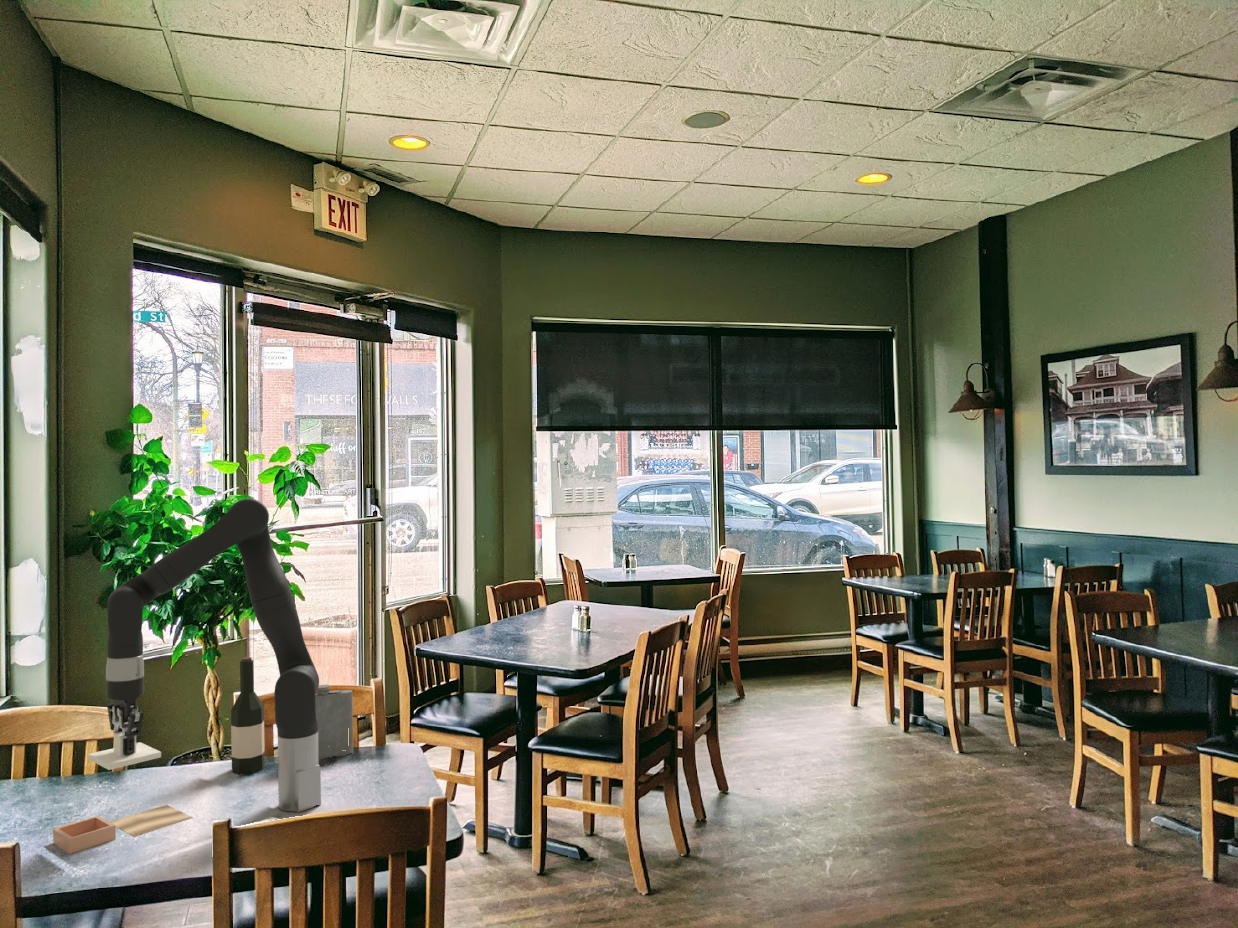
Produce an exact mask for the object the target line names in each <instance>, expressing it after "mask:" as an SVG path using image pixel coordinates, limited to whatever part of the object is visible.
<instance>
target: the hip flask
mask: <svg viewBox="0 0 1238 928" xmlns="http://www.w3.org/2000/svg"><path fill="white" fill-rule="evenodd" d="M330 688H331V686H330V684H319V686H318V689H317V691H316V693H315V703H316V718H317V720H318V758H319V761H320V760H323V759H324V758H325V759H328V758H327V757H330V756H336V757H339V756H338V755H342V756H348V755H347V754H349V755H351V754H350V753H352V754H353V753H354V715H353V713H354V711H353V709H354V708H353V706H354V705H353V703H354V702H353V690H351V689H345V690H339V689H338V690H330ZM348 728H349V746H348ZM328 746H329V747H328ZM342 750H346V751H342ZM330 758H331V757H330Z"/></svg>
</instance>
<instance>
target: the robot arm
mask: <svg viewBox="0 0 1238 928" xmlns="http://www.w3.org/2000/svg"><path fill="white" fill-rule="evenodd" d="M269 520H270V514H269V510H268V507H267V506H265V504H264V503H263V502H261V501H260V500H257V499H254V498H242V499H239V500H237V501H236V502H234V503H233V504H232V505H231V506H230V507H229V509H228V510H227V512H225V514H224V515H223V516H221V517H220V519H218V520H217V521H216V522H215V523H213V524H212V525H211V526H210V527H209V528H208V529H206V530H205V531H203V532H202V533H200V534H199V535H197V536H196V537H194V538H193V539H191V540H190V541H188V542H186V543H185V544H183V545H181V546H179V547H178V548H176V549H175V550H172V551H171V552H170V553H168V554H166V555H165V556H163V557H162V558H161V559H160V560H159V559H158V561H156V562H154V564H152V565H151V566H149V567H148V568H147V569H146V570H144V571H143V572H141V573H140V574H137V575H135V577H132V578H131V579H129V580H127V581H126V582H124V583H122V584H120V585H119V586H118V587H117V588H114V590H113V591H111V593H110V595H109V596H108V599H107V603H106V604H107V605H106V607H107V608H106V610H107V628H108V636H107V645H106V646H107V648H106V649H107V650H106V651H107V652H106V653H107V659H106V665H105V698H106V700H109V701H112V702H111V703H107V706H106V708H107V715H108V720H109V727H110V731H113V734H114V733H117V732H122V733H123V754H124V755H130V754H133V753H134V751H135V736H136V737H137V736H140V735H141V734H140V733H141V729H142V725H143V719H144V712H143V711H139V706H138V703H137V699H138V698H140V697H142V696H143V695H144V693H145V662H144V640H143V639H144V637H143V632H142V629H143V617H144V616H143V614H144V607H145V606H147V605H148V604H149V603H151V602H152V601H153V600H155V599H156V598H158V597H159V596H161V595H165V594H166V593H168V592H170V591H172V590H173V589H175V588H176V587H178V586H179V585H180V584H182V583H183V582H184V581H186V580H187V579H188V578H190V577H192V576H193V575H194V574H195V573H197V572H198V571H199V570H201V569H202V568H203V567H204V566H206V565H207V564H208V563H210V562H211V561H212V560H213V559H215V558H217V557H218V556H219V555H220V554H222V553H223V552H225V551H226V550H228V549H230V548H231V547H234V546H235V545H236V546H237V549H238V551H239V553H240V556H241V559H242V563H243V569H244V574H245V580H246V586H247V590H248V594H249V595H248V596H249V598H250V602H251V605H252V609H253V612H254V615H255V618H256V620H257V623H258V625H259V627H260V630H261V631H262V632H263V634H264V635H265V638H266V639H267V641H268V642H269V644H270V646H271V647H272V649H273V652H274V654H275V657H276V663H277V666H278V672H279V677H278V678H277V680H276V682H275V686H274V719H275V720H274V721H275V727H276V728H277V779H278V780H277V781H278V783H277V787H278V788H277V791H278V809H280V810H281V811H285V812H297V813H300V812H303V811H306V810H308V809H312V808H315V807H317V806H316V805H318V806H320V805H322V789H321V788H322V786H321V785H322V783H321V781H322V780H321V765H320V764H319V762H320V760H319V758H318V720H317V718H316V703H315V694H317V691H318V690H317V689H318V686H319V685H320V677H319V674H318V671H317V668H316V667H315V664H314V662H313V660H312V657H311V655H310V653H309V650H308V648H307V645H306V643H305V639H304V636H303V631H302V627H301V622H300V618H299V613H298V610H297V607H296V602H295V600H294V596H293V593H292V590H291V586H290V583H289V581H288V579H287V576H286V575H285V572H284V570H283V568H282V565H281V564H280V562H279V560H278V558H277V556H276V553H275V551H274V547H273V543H272V538H271V535H270V530H269V529H270V528H269ZM319 804H320V805H319ZM314 806H315V807H314Z"/></svg>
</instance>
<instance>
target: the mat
mask: <svg viewBox="0 0 1238 928" xmlns="http://www.w3.org/2000/svg"><path fill="white" fill-rule="evenodd" d="M193 818H194V817H193V816H191V815H189V814H187V813H185V812H183V811H180V810H179V809H176V808H175V807H173V806H170V805H168V804H165V805H161V806H157V807H155V808H151V809H148V810H145V811H142V812H138V813H135V814H132V815H129V816H125V817H122V818H119V819H116V820H112V821H109V822H110V823H112V824H114V825H115V828H116V829H117V828H118V829H119V830H121V831H123V832H124V833H126V834H128V835H130V836H131V837H134V838H135V837H139V836H142V835H144V834H147V833H150V832H154V831H157V830H159V829H164V828H166V827H169V826H173V825H176V824H178V823H181V822H184V821H185V822H186V821H187V820H190V819H193Z"/></svg>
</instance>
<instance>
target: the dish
mask: <svg viewBox="0 0 1238 928" xmlns="http://www.w3.org/2000/svg"><path fill="white" fill-rule="evenodd" d="M110 822H111V821H109V820H107V819H105V818H103V817H101V816H100V815H95V816H92V817H88V818H85V819H82V820H79V821H76V822H72V823H68V824H65V825H62V826H58V827H55V828H53V829H52V842H53V844H54V845H56V846H57V847H59V848H60V849H61V850H64V851H65V852H66V853H68V854H70V855H71V854H74V853H77V852H80V851H83V850H86V849H87V850H88V849H90V848H93V847H96V846H98V845H99V846H100V845H102V844H106V843H108V842H112V841H115V840H116V839H117V838H116V836H117V835H116V826H115V825H114V824H112V823H110Z"/></svg>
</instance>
